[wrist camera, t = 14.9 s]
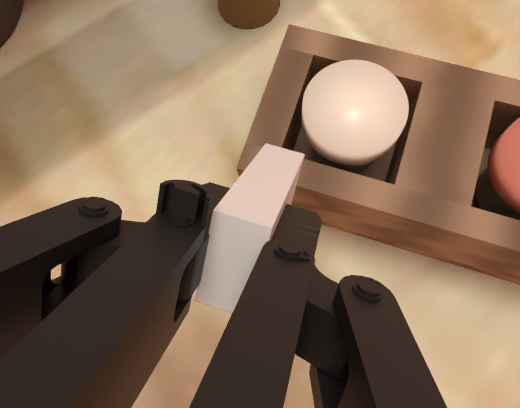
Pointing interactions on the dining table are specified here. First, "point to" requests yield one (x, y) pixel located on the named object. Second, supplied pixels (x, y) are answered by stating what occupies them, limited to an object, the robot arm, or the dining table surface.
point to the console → (402, 154)
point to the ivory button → (353, 114)
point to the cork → (248, 12)
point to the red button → (502, 175)
